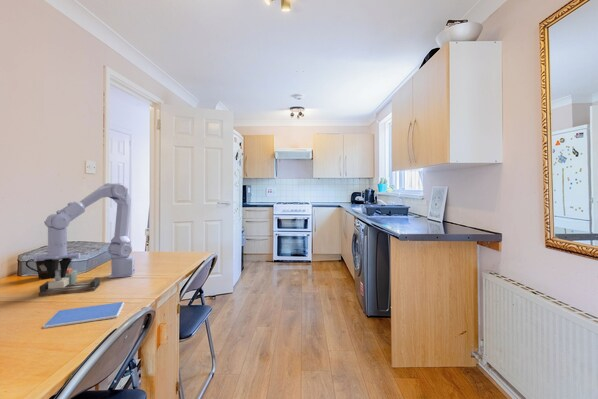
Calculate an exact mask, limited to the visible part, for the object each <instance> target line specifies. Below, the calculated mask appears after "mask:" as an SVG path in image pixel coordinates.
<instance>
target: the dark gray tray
mask: <svg viewBox="0 0 598 399" xmlns="http://www.w3.org/2000/svg"><path fill="white" fill-rule="evenodd" d="M50 281H51V280H50ZM50 281H46V282H44V283H42V284H41V285H39V292H38V293H37V294H38V297H44V296H54V295H65V294H76V293H87V292H95V291H96V290H97V288H98V287H100V285H101V281H100V277H98V276H97V277H96V276H95V277H94V278H93V279H92V280H91V281H90V282H82V283H74V284H69V285H67V286H65V287H64V288H54V289H48V282H50Z"/></svg>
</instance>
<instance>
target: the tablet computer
mask: <svg viewBox="0 0 598 399" xmlns="http://www.w3.org/2000/svg"><path fill="white" fill-rule="evenodd" d="M124 306H125V302H124V301H120V302H112V303H105V304H98V305H90V306H89V305H88V306H83V307H75V308H74V307H73V308H68V309H60V310H58V311H56V312H55V313H54V314H53V316H51V318H50V319H49V320H48V321H46V322H45V324H43V325H42V329H49V328H50V329H52V328H55V327H63V326H70V325H76V324H77V325H78V324H83V323H89V322H94V321H96V322H97V321H102V320H109V319H110V320H111V319H117V318H118V317H119V315H120V314H121V312H122V311H123V308H124Z"/></svg>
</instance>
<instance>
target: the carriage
mask: <svg viewBox="0 0 598 399" xmlns="http://www.w3.org/2000/svg"><path fill="white" fill-rule="evenodd" d="M68 284H69V278H61V269H58V270H55V279H54V278H53V279H51V280H50V282H48V289H54V288H64V287H65V286H67V285H68Z"/></svg>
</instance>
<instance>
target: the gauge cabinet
mask: <svg viewBox="0 0 598 399" xmlns="http://www.w3.org/2000/svg"><path fill="white" fill-rule="evenodd" d="M77 273H78V272H77V270H73V269H72V272H71V273H69V274H66V275H65V277H63V278H69V284H76V282H78V279H77V277H78V275H77ZM53 279H55V278H53ZM69 284H68V285H69Z"/></svg>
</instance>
